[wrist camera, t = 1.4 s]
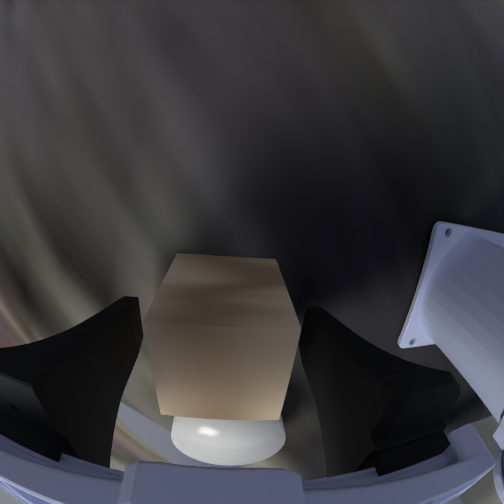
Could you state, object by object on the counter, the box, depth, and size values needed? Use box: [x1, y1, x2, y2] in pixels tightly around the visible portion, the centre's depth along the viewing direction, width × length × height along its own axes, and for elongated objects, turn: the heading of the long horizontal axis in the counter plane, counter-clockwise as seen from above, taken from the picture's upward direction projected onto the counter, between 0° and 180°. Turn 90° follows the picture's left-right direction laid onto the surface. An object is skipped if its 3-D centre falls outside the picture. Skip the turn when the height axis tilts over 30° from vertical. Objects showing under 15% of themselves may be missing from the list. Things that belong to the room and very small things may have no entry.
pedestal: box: [171, 414, 285, 465], centre depth 15 cm, size 7×7×2 cm
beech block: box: [144, 253, 301, 420], centre depth 11 cm, size 4×4×6 cm
